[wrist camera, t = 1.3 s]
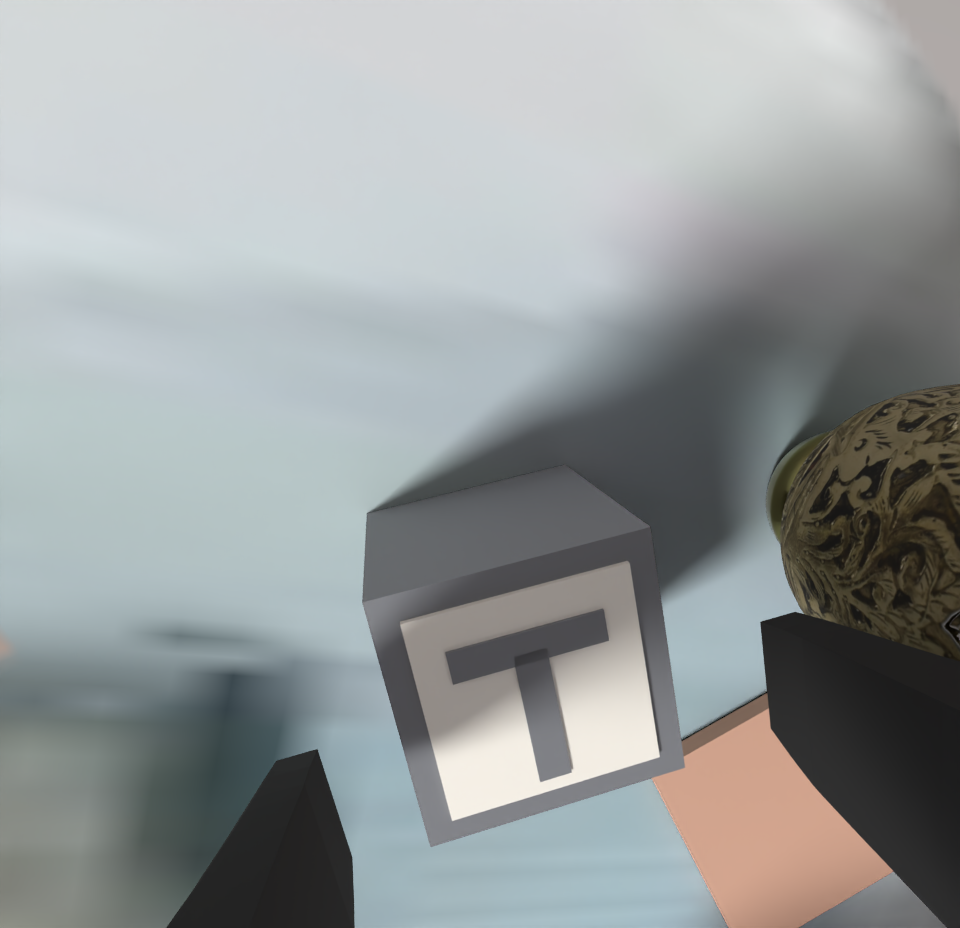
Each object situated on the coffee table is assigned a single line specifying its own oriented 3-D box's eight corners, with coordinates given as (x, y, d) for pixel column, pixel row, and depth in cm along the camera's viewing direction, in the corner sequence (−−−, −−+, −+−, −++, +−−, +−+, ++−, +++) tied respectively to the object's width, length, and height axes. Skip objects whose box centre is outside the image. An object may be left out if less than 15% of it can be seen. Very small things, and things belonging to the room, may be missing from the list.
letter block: (414, 690, 16) (431, 854, 11) (367, 512, 15) (362, 607, 10) (595, 639, 17) (689, 774, 12) (564, 464, 15) (654, 530, 10)
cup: (955, 554, 18) (1399, 729, 10) (729, 659, 17) (1014, 928, 10) (909, 307, 16) (1417, 289, 8) (653, 418, 15) (934, 510, 8)
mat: (736, 943, 20) (745, 958, 19) (643, 762, 18) (651, 774, 17) (947, 819, 20) (961, 831, 20) (881, 627, 18) (895, 636, 17)
